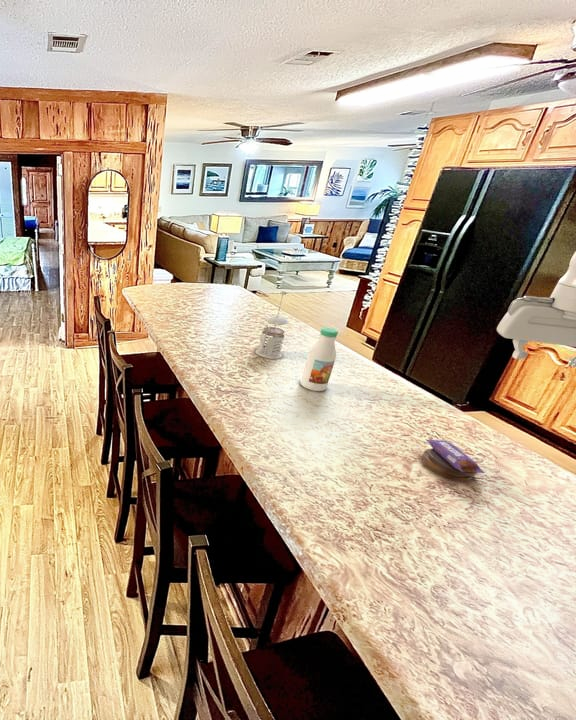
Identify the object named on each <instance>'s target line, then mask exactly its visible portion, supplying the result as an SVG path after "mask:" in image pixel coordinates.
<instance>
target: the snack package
mask: <svg viewBox="0 0 576 720" xmlns="http://www.w3.org/2000/svg"><path fill="white" fill-rule="evenodd" d="M425 441H426V442H427V443H428V444H429V445H430V446H431V449H434V450H435V451H436V452H437V453H439V454H440V455H441V456H442V457H443V458H444V459H445V460H447V461H448V462H449V463H450V464H451V465H452V466H453V467H455V468H456V469H458V470H460V471H462V472H474V473H477V474H485V471H484V470H482V468H481V467H480V466H479V465H478V464H477V462H476V461H474V460H473V459H472V458H470V457H469V456H468V455H467V454H466V453H464V452H463V451H462V450H461V449H460V448H458V446H456V445H455V444H453V443H452V442H448V441H447V440H441V439H439V440H438V439H425Z"/></svg>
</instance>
